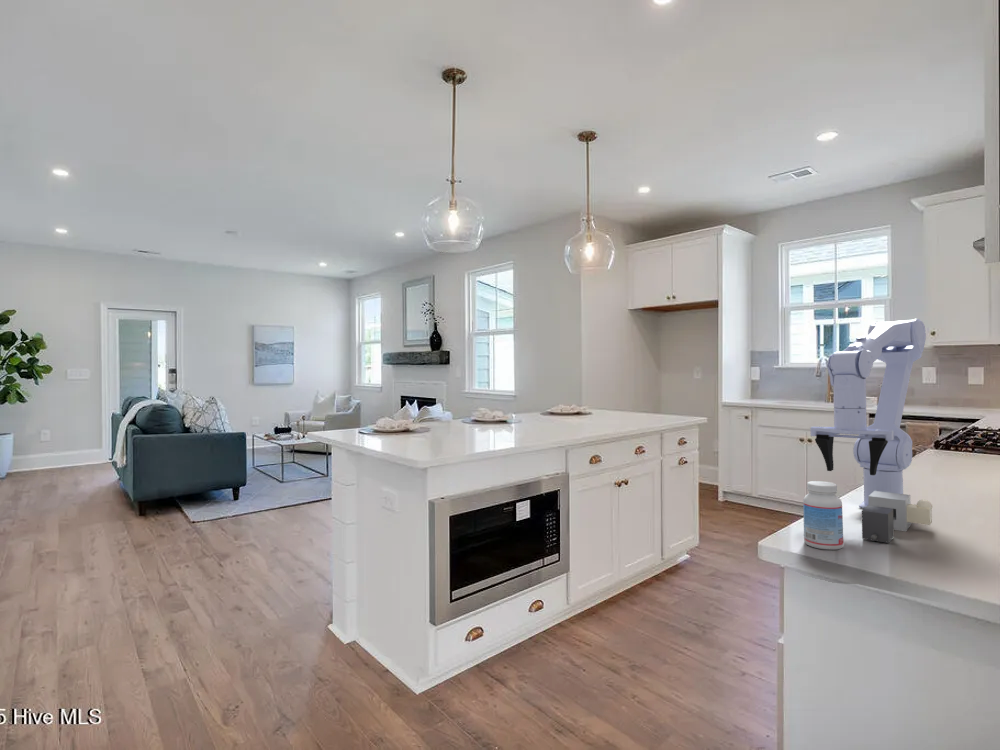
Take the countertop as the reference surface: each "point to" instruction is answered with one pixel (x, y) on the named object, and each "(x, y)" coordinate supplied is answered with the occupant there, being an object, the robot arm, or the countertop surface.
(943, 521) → the countertop surface
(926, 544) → the countertop surface
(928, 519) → the night light
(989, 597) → the countertop surface
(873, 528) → the block
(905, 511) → the socket cube
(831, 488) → the pill bottle
